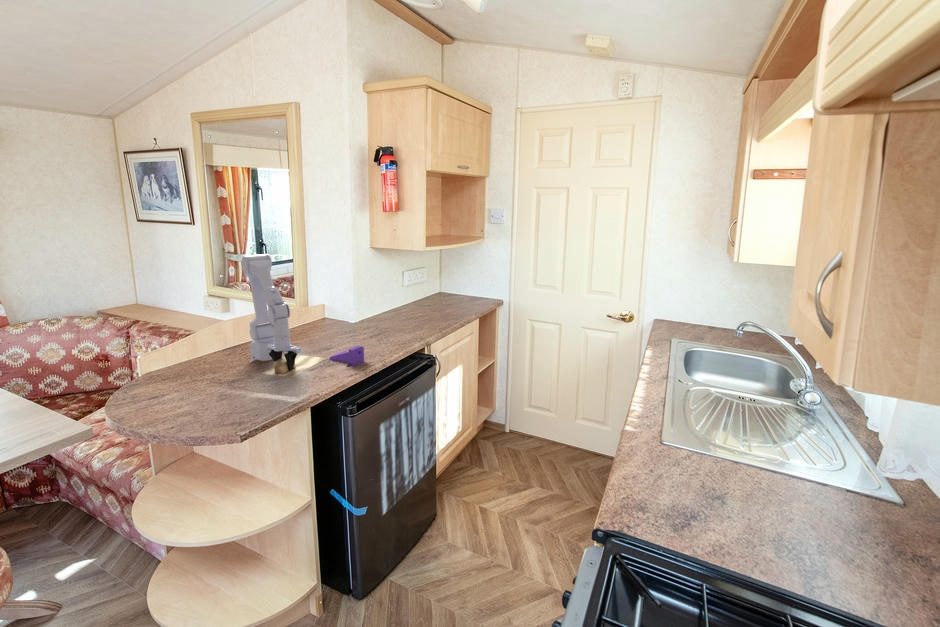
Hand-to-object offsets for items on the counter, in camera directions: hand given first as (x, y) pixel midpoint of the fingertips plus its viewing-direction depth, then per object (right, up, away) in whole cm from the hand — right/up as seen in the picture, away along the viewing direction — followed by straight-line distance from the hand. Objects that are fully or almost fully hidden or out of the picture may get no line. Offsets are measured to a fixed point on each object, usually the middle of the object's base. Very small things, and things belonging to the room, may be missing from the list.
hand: (285, 369), depth 184 cm
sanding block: (0, -1, 0) cm, 1 cm away
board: (+2, 0, +6) cm, 6 cm away
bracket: (+20, +2, +13) cm, 24 cm away
